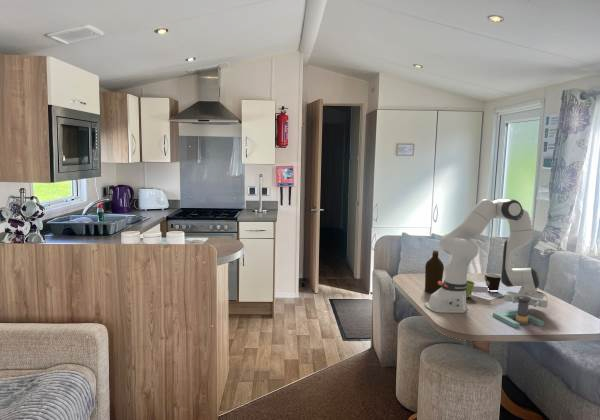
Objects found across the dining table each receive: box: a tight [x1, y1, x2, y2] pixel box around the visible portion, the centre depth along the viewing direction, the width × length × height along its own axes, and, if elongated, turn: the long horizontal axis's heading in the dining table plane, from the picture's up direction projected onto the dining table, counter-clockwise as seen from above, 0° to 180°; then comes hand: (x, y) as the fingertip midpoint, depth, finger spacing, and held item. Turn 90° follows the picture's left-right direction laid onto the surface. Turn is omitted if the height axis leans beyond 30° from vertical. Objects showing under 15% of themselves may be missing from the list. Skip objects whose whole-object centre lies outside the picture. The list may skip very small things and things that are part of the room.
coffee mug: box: [484, 273, 501, 291], centre depth 282 cm, size 12×9×10 cm
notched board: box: [492, 310, 545, 329], centre depth 231 cm, size 17×16×2 cm
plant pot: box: [466, 280, 476, 299], centre depth 268 cm, size 9×9×9 cm
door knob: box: [514, 296, 531, 326], centre depth 227 cm, size 6×6×13 cm
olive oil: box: [424, 249, 445, 294], centre depth 275 cm, size 11×11×25 cm
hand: (524, 303), depth 231 cm, fingers open, 8 cm apart
